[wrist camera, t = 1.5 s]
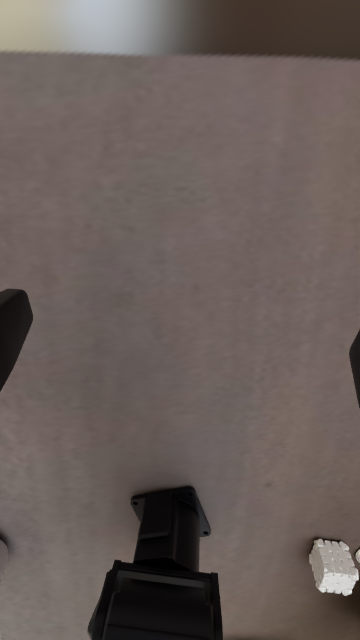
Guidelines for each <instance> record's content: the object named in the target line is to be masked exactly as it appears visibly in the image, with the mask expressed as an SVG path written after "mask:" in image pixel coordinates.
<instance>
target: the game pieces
mask: <svg viewBox="0 0 360 640" xmlns="http://www.w3.org/2000/svg"><path fill="white" fill-rule="evenodd" d="M348 550H349V547H348V546H347V545H346V544H345V543H343V542H342V541H340V542H339V544H338V543H337V542H334V541H332V542H330V541H326V540H325V541H324V542H323V540H322V539H318V540H315V541H314V546H313V550H312V551H311V554H309V563H310V564H311V565H312V570H313V573H314V578H315V581H317V582H316V587H317V588H318V589H319V590H320V591H321V592H322V593H324V592H325V591H326V589H327V592H330V593H333V591H334V592H335V593H338V594H341V591H342V594H343V595H344V596H346V595H349V594H352V590H351V589H353V587H354V585H355V583H356V580H359V578H358V570H357V569H356V568H354V566H355V565H354V562H353V560H351V558H352V557H351V555H350V552H348ZM356 559H357V561H358V562H359V563H360V549H359V550H358V551H357V553H356Z"/></svg>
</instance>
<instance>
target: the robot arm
mask: <svg viewBox="0 0 360 640" xmlns="http://www.w3.org/2000/svg"><path fill="white" fill-rule="evenodd" d="M32 321H33V313H32V310H31V306H30V303H29V299H28V295H27V293H26V292H25V291H24V290H20V289H6V290H4V291H1V292H0V391H1V390H2V388H3V386H4V384H5V382H6V381H7V379H8V377H9V375H10V373H11V371H12V369H13V367H14V365H15V363H16V361H17V358H18V356H19V353H20V351H21V349H22V346H23V344H24V341H25V339H26V336H27V334H28V332H29V329H30V327H31V324H32ZM349 356H350V362H351V367H352V373H353V378H354V383H355V389H356V394H357V399H358V403H359V408H360V330H359V332H358V334H357V336H356V338H355V340H354V342H353V343H352V345H351V348H350V352H349ZM189 492H190V493H189ZM131 505H132V507H133V509H134V511H135V513H136V515H137V517H138V519H139V521H140V528H139V533H138V540H137V545H136V550H135V555H134V560H133V563H127V562H121V560H115V561H114V564H113V568H112V570H111V569H110V571H109V572H107V574H106V578H105V582H104V586H103V589H102V593H101V596H100V599H99V601H98V603H97V606H96V608H95V610H94V613H93V615H92V617H91V620H90V622H89V626H88V635H89V637H90V639H91V640H223V632H222V616H221V605H220V594H219V583H218V573H213V572H211V574H210V573H202V572H199V542H200V537H205V536H209V535H210V534H211V529H210V526H209V524H208V521H207V519H206V516H205V514H204V512H203V509H202V507H201V504H200V502H199V499H198V497H197V495H196V492H195V490H194V488H192V487H185V488H179V489H173V490H167V491H161V492H156V493H150V494H144V495H138V496H133V497H132V499H131Z"/></svg>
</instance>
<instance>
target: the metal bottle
mask: <svg viewBox="0 0 360 640" xmlns="http://www.w3.org/2000/svg"><path fill="white" fill-rule="evenodd" d="M7 563H8V549H7V546H6V545H5V543H4V542H3V541H2V540H1V539H0V580H1V579H2V577H3V574H4V571H5V569H6V566H7Z"/></svg>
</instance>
